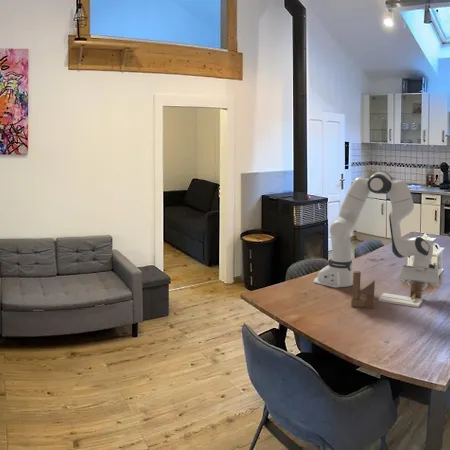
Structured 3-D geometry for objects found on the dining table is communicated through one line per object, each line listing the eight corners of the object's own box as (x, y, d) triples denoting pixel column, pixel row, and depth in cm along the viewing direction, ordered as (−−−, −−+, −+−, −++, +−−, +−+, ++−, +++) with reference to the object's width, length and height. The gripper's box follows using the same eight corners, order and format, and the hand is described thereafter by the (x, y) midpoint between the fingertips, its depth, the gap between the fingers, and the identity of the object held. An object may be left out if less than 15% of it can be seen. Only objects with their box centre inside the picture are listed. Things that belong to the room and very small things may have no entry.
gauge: (407, 302, 265) (408, 287, 264) (411, 295, 275) (412, 281, 274) (417, 303, 263) (418, 289, 261) (421, 297, 273) (422, 283, 271)
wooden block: (372, 309, 257) (374, 274, 254) (351, 306, 262) (352, 272, 258) (373, 306, 261) (375, 272, 257) (352, 304, 265) (353, 270, 262)
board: (378, 301, 269) (378, 298, 269) (383, 295, 278) (383, 292, 278) (418, 307, 259) (418, 305, 259) (422, 301, 268) (422, 298, 268)
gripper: (400, 261, 280) (395, 283, 274) (440, 267, 270) (436, 289, 264) (401, 267, 285) (396, 289, 279) (441, 273, 275) (436, 295, 268)
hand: (416, 289), depth 271 cm, fingers closed on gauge, 5 cm apart
